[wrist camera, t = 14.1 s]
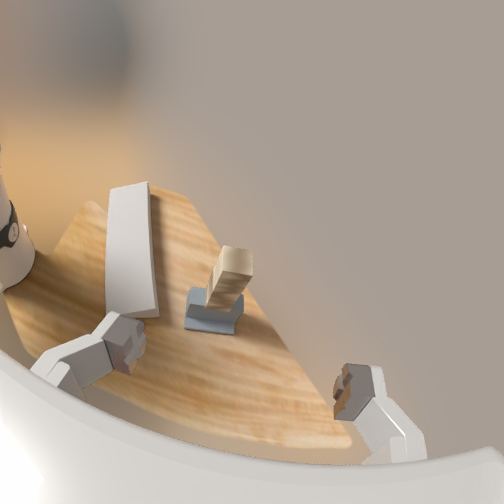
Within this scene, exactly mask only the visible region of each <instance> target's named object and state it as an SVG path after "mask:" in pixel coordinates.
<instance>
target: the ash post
mask: <svg viewBox="0 0 504 504" xmlns="http://www.w3.org/2000/svg"><path fill="white" fill-rule="evenodd" d="M252 276H253V263H252V251H251V250H245V249H240V248H235V247H230V246H223V248H222V251H221V253H220V255H219V258H218V260H217V262H216V265H215V267H214V269H213V272H212V274H211V277H210V279H209V281H208V284H207V286H206V298H205V309H211V310H218V311H226V312H229V311H230V310H231V308H232V307H233V305H234V304H235V302H236V301H237V299H238V298H239V296H240V295H241V293H242V292H243V290H244V289H245V287H246V285H247V284H248V282H249V281H250V279H251V278H252Z"/></svg>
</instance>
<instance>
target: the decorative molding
mask: <svg viewBox="0 0 504 504" xmlns="http://www.w3.org/2000/svg"><path fill="white" fill-rule="evenodd" d="M105 299H106V315H107V314H108V313H109V312H111V311H113V312H116V313H119V314H122V315H125V316H128V317H132V318H153V317H160V314H159V306H158V297H157V288H156V279H155V268H154V257H153V243H152V227H151V204H150V190H149V186H148V182H142V183H137V184H132V185H128V186H123V187H118V188H114V189H111V191H110V199H109V211H108V222H107V237H106V262H105Z"/></svg>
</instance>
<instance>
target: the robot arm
mask: <svg viewBox="0 0 504 504" xmlns="http://www.w3.org/2000/svg"><path fill="white" fill-rule="evenodd" d="M0 150H1V146H0ZM34 259H35V248H34V245H33V243H32V241H31V240H30V238H29V236H28V230H27V228H26V226H25V225H22V223H21V221H20V219H19V217H18V215H17V213H16V211H15V208H14V206H13V204H12V202H11V201H10V200H9V198H8V195H7V192H6V189H5V185H4V182H3V178H2V174H1V166H0V294H1V293H2V292H3V291H4V290H5V289H6V288H8V287H11V286H13V285H15V284H17V283H19V282H20V281H21V280H22V279H23V278H25V276H26V275H27V274H28V273H29V271H30V269H31V268H32V265H33V263H34ZM144 329H145V326H144V322H142V321H140V320H137V319H134V318H131V317H128V316H125V315H122V314H119V313H116V312H113V311H111V312H109V313H108V314H107V315H106V317H105V318H104V319H103V320H102V322H101V323H100V324H99V325H98V326H97V328H96V329H95V330H94V331H93V333H92V334H91V335H90V334H86V335H84V336H81V337H79V338H77V339H74V340H72V341H69V342H67V343H64V344H62V345H59V346H57V347H54V348H52V349H49V350H46V351H45V352H44V353H43V354H42V355H41V357H40V358H39V359H38V360H37V362H36V363H35V364H34V365H33V366H32V368H31V369H30V370H29V369H27V368H26V367H24V366H23V365H21V364H20V363H18V362H17V361H16V360H14V359H13V358H11V357H10V356H9V355H7V354H6V353H5V352H3V351H2V350H1V349H0V504H504V455H503V454H501V453H500V452H499V451H498V450H497V449H496V448H494V447H492V446H485V447H481V448H478V449H474V450H470V451H466V452H463V453H457V454H453V455H448V456H443V457H438V458H431V459H427V453H426V447H425V442H424V436H423V433H422V432H421V431H420V430H419V429H418V428H417V427H416V425H415V424H414V423H413V422H412V421H411V420H410V419H409V418H408V417H407V415H406V414H405V413H404V412H403V411H402V410H401V409H400V408H399V407H398V405H397V404H396V403H395V402H394V401H393V400H392V399H391V398H388V396H387V391H386V386H385V381H384V376H383V372H382V368H381V367H380V366H368V365H358V364H348V363H346V364H345V365H344V366H343V368H342V374H341V375H339V376H338V377H337V379H336V381H335V384H334V389H333V398H334V399H335V400H336V401H337V402H336V403H335V405H334V420H345V421H353V423H354V425H355V426H356V428H357V429H358V431H359V433H360V434H361V435H362V437H363V439H364V440H365V442H366V444H367V445H368V447H369V449H370V450H371V452H372V453H373V454H372V455H370V456H369V457H368V458H367V459H366V460H364V461H363V462H362V465H325V464H308V463H295V462H285V461H277V460H270V459H263V458H257V457H251V456H245V455H240V454H235V453H230V452H225V451H221V450H216V449H211V448H208V447H204V446H200V445H196V444H193V443H189V442H186V441H182V440H179V439H175V438H172V437H169V436H166V435H163V434H160V433H157V432H154V431H151V430H148V429H146V428H143V427H140V426H138V425H135V424H132V423H130V422H127V421H125V420H123V419H120V418H118V417H116V416H113V415H111V414H109V413H107V412H104V411H102V410H100V409H98V408H96V407H94V406H92V405H90V404H88V403H86V402H87V399H86V397H85V395H84V393H83V391H82V389H83V388H85V387H87V386H88V385H90V384H92V383H93V382H95V381H97V380H98V379H100V378H102V377H103V376H105V375H107V374H108V373H110V372H112V371H113V369H114V370H117V371H120V372H123V373H125V374H128V375H131V374H132V373H133V371H134V369H135V367H136V366H137V360H136V359H138V358H140V357H142V355H143V354H144V352H145V348H146V345H147V338H146V335H145V334H144V333H143V331H144Z"/></svg>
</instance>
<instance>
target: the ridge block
mask: <svg viewBox="0 0 504 504" xmlns="http://www.w3.org/2000/svg"><path fill="white" fill-rule="evenodd" d="M205 298H206V289H203V288H197V287H191V290H190V291H188V293H187V302H186V313H185V325H184V329H190V330H197V331H204V332H212V333H221V334H229V335H234V333H235V322H236V321H237V319H238V318H239V317H240V315H241V314H242V313H243V311H244V296H243V294H241V295H240V296H239V298H238V299H237V301H236V302H235V304H234V305H233V307H232V308H231V310H230V311H229V312H226V311H218V310H211V309H205Z"/></svg>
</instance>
